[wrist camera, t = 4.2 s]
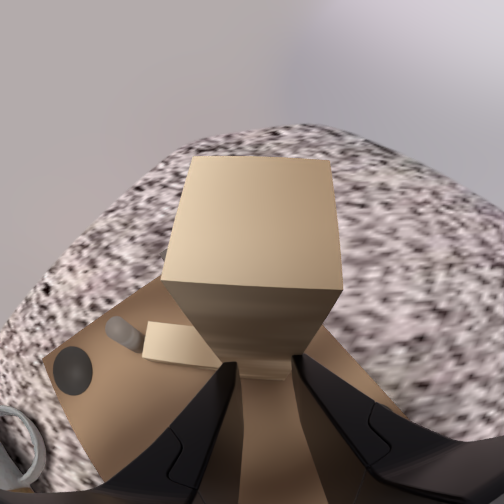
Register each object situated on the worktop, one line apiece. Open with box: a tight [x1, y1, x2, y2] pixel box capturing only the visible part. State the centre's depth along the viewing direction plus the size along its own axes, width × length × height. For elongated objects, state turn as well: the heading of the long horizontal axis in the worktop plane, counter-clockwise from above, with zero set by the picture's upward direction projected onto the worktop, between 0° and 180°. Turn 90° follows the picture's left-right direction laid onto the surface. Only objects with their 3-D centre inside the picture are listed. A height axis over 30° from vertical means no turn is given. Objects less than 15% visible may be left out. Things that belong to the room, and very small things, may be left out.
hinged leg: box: [142, 156, 343, 380], centre depth 10 cm, size 7×3×12 cm, turn 86°
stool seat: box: [42, 248, 410, 504], centre depth 13 cm, size 17×16×4 cm
